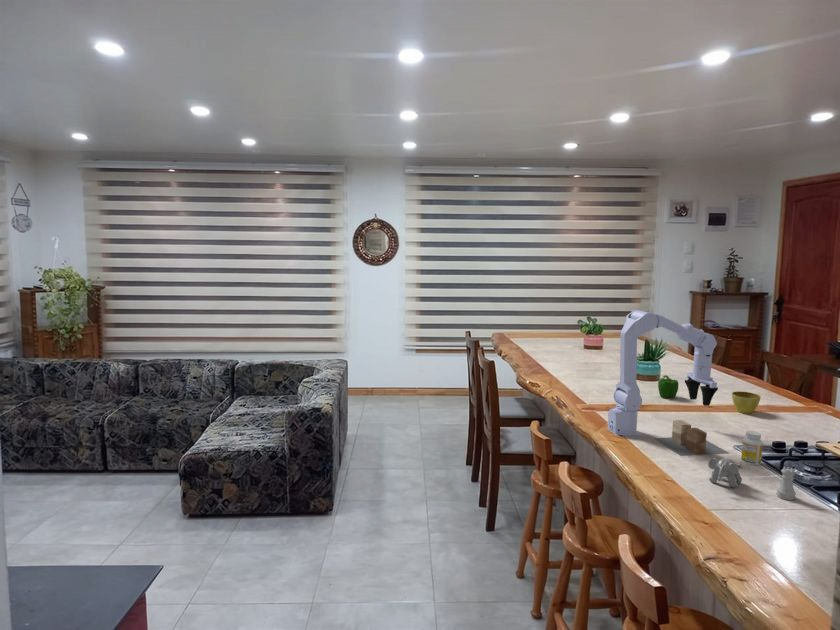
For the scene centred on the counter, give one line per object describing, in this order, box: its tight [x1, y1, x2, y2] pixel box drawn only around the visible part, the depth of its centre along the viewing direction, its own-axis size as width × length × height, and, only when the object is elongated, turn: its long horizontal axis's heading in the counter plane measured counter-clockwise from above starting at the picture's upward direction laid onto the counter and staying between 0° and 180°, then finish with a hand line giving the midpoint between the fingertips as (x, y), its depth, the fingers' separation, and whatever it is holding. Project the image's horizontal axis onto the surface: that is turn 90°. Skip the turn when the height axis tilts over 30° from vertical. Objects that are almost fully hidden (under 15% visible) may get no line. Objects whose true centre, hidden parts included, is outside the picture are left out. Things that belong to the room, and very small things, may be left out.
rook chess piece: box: [776, 466, 797, 501], centre depth 149 cm, size 4×4×8 cm
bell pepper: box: [657, 374, 679, 399], centre depth 245 cm, size 8×8×10 cm
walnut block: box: [686, 427, 708, 454], centre depth 181 cm, size 4×5×7 cm
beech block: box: [671, 419, 692, 445], centre depth 189 cm, size 4×5×7 cm
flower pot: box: [731, 390, 762, 415], centre depth 225 cm, size 10×10×7 cm
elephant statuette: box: [708, 457, 743, 489], centre depth 157 cm, size 9×12×8 cm
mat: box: [653, 436, 729, 457], centre depth 187 cm, size 17×16×1 cm
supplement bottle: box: [740, 430, 764, 466], centre depth 173 cm, size 5×5×10 cm
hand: (699, 402), depth 203 cm, fingers open, 7 cm apart
